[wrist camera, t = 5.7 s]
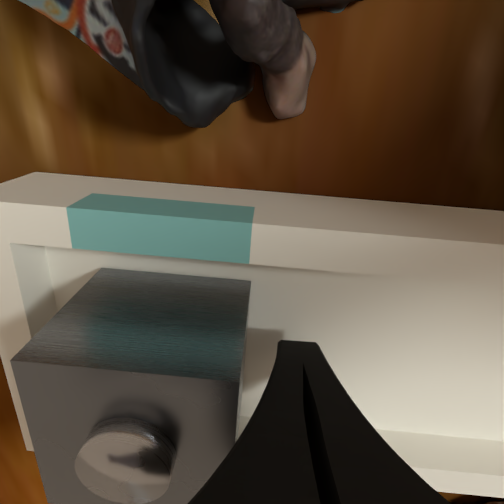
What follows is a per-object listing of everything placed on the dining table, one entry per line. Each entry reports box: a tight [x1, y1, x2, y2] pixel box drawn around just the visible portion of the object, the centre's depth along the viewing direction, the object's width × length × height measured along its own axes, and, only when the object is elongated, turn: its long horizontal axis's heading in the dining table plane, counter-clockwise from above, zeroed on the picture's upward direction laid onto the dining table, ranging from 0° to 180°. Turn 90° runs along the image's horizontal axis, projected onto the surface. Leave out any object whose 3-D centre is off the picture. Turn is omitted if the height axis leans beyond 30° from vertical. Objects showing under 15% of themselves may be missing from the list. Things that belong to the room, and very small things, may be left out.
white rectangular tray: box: [0, 172, 504, 498], centre depth 14 cm, size 22×13×4 cm, turn 86°
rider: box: [10, 268, 251, 504], centre depth 10 cm, size 5×5×5 cm
